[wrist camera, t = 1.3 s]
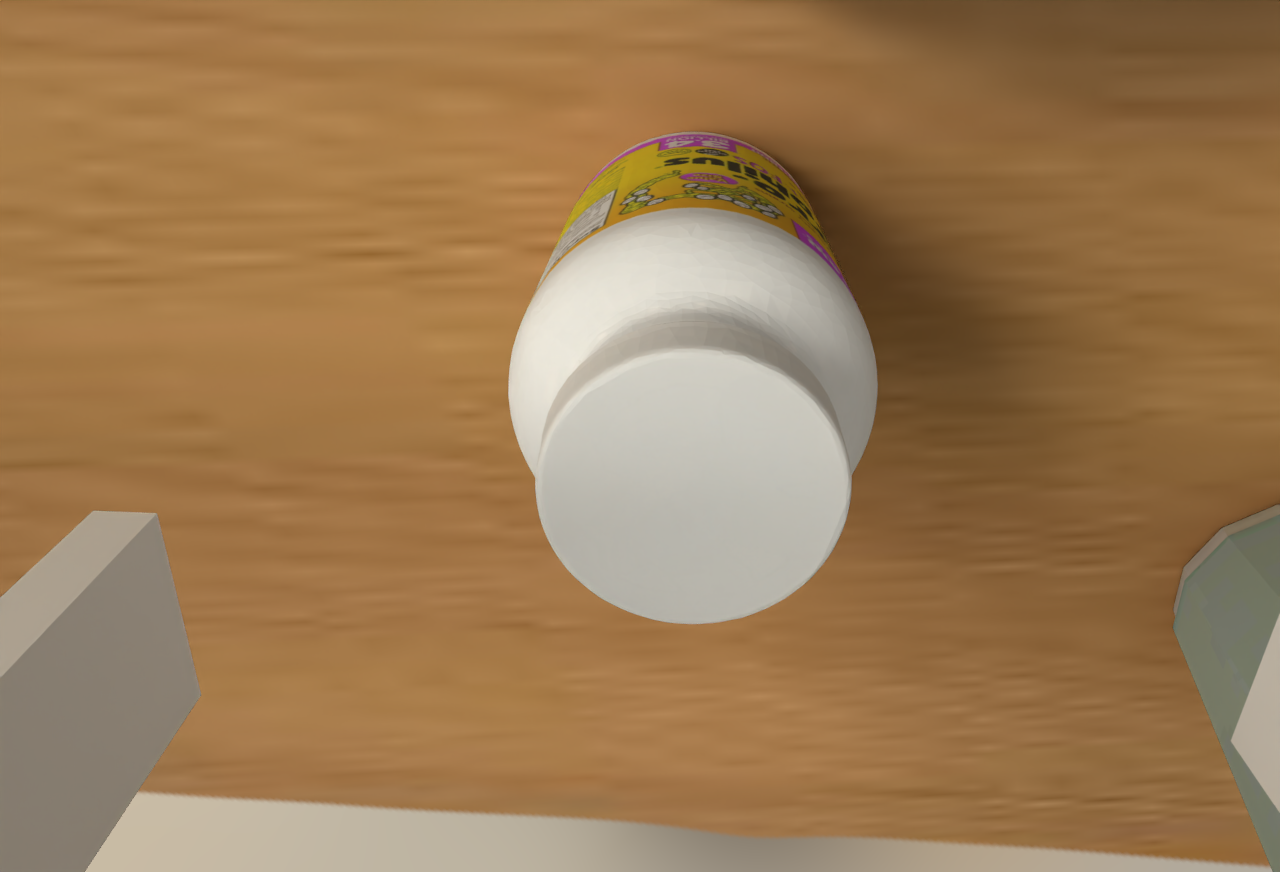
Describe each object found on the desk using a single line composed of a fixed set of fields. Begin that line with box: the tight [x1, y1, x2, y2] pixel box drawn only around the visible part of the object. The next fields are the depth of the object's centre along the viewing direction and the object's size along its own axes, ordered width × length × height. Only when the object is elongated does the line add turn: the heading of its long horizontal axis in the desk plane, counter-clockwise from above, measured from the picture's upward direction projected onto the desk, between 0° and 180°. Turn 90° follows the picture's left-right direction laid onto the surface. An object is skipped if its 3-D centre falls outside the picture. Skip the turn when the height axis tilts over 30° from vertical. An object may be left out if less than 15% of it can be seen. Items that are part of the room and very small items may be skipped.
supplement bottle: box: [508, 132, 878, 624], centre depth 20 cm, size 7×7×13 cm
